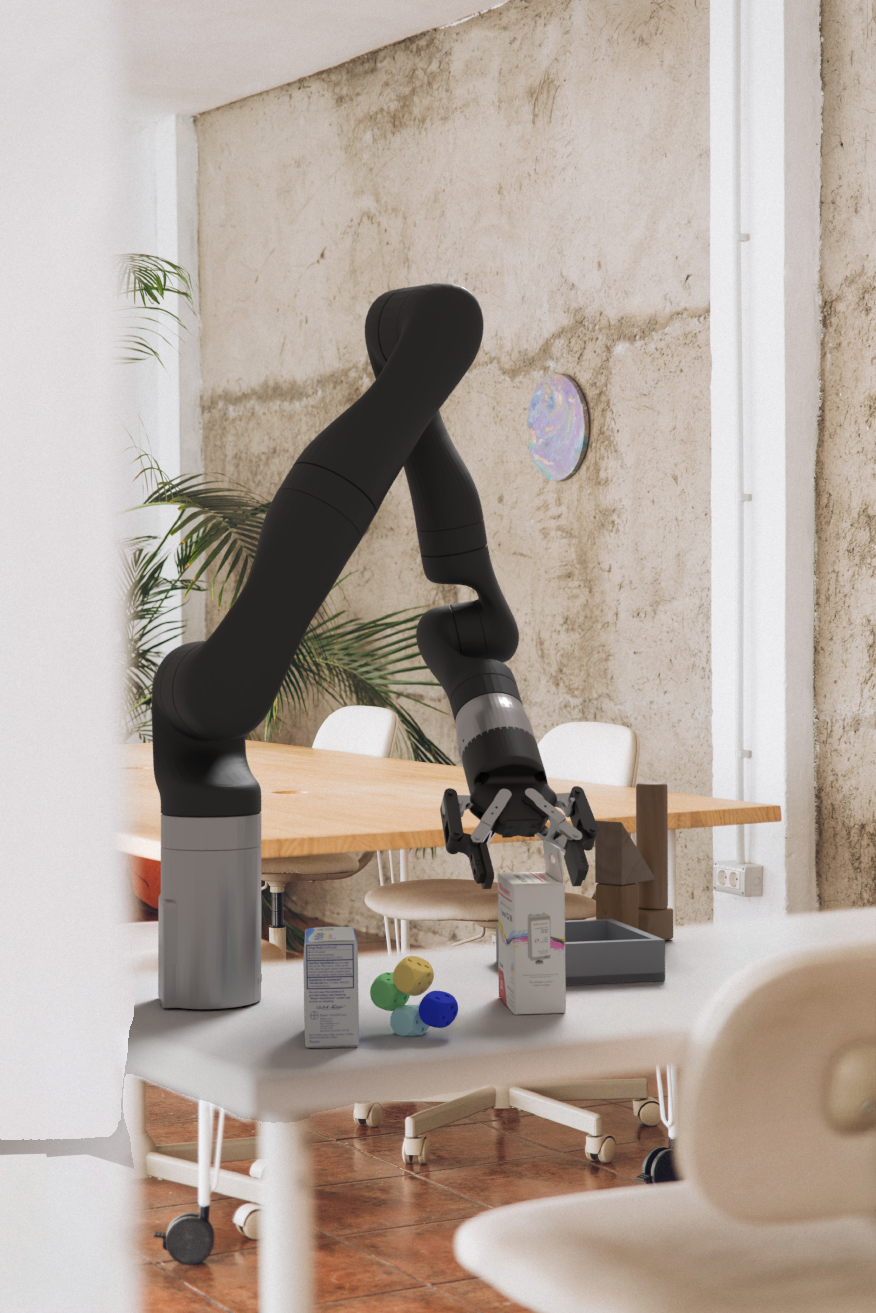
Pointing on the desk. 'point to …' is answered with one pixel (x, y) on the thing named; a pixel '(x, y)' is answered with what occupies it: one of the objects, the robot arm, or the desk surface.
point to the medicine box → (331, 988)
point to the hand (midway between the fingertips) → (534, 882)
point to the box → (609, 953)
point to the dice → (413, 980)
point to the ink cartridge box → (533, 938)
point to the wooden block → (636, 866)
